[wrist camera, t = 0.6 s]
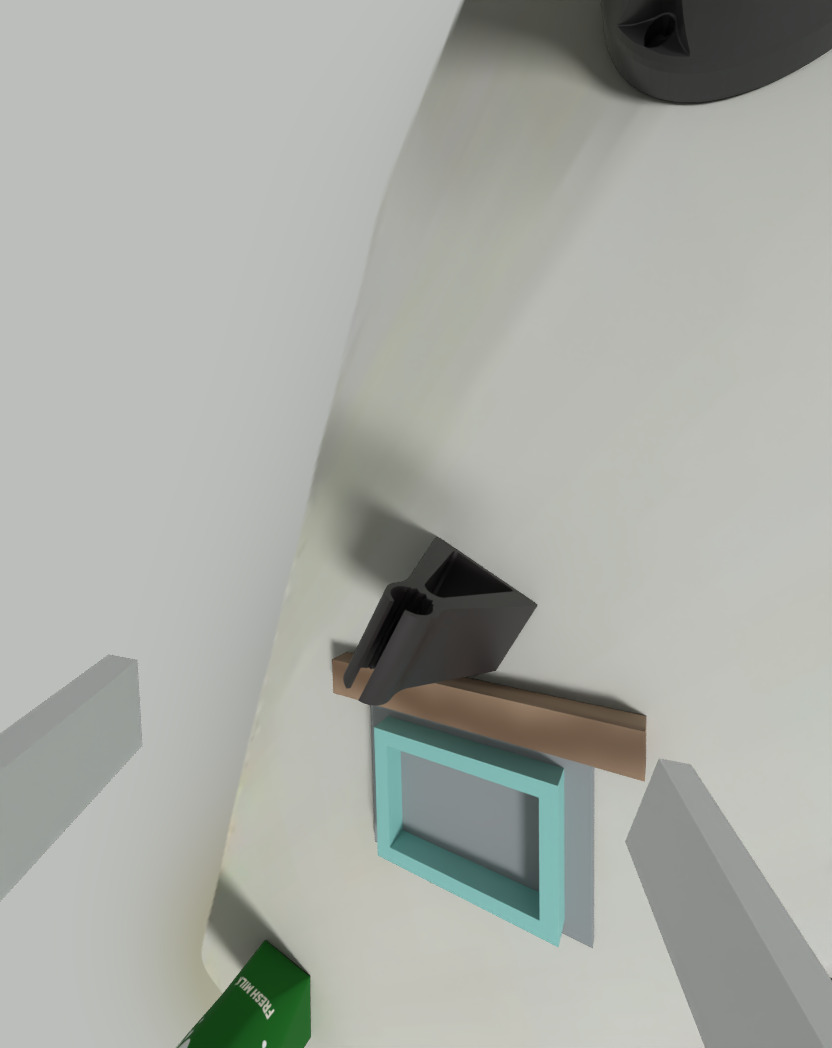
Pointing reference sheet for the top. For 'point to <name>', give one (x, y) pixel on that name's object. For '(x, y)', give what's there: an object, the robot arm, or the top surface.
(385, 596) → the phone stand
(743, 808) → the top surface
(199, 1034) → the milk carton
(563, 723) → the strip
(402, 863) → the cradle
